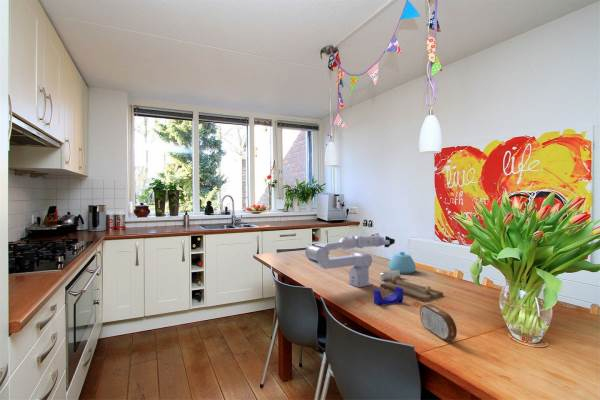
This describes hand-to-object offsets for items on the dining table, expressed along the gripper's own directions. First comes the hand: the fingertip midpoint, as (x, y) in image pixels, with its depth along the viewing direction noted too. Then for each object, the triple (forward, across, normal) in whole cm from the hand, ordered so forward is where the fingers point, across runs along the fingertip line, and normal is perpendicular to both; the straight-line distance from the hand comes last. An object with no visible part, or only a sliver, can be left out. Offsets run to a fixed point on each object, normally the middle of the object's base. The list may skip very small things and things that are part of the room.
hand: (388, 240), depth 163 cm
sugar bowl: (+19, +6, +20) cm, 28 cm away
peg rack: (-7, -21, +21) cm, 31 cm away
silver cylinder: (0, -2, +21) cm, 21 cm away
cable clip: (-27, -25, +23) cm, 43 cm away
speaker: (-36, -54, +23) cm, 69 cm away
